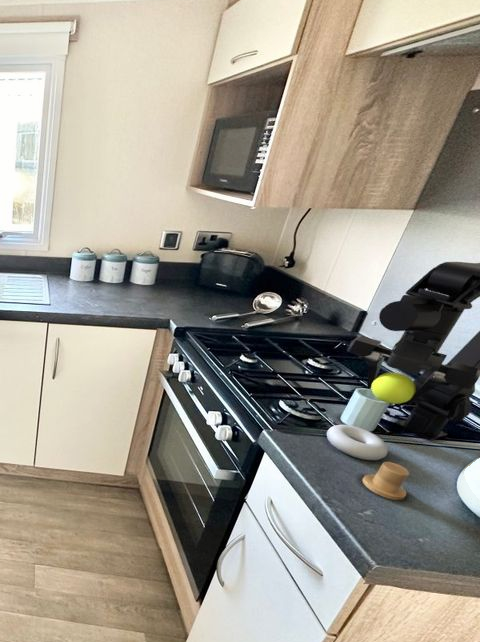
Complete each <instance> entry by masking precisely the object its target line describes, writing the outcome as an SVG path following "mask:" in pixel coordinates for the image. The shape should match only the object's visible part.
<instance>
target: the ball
mask: <svg viewBox="0 0 480 642" xmlns="http://www.w3.org/2000/svg"><path fill="white" fill-rule="evenodd" d="M413 381H414V380H413V379H412V378H410V376H408V375H405V374H403V373H400V372H385V373H382V374H380V375H379V374H378V375H377V377H376V378H375V379H374V381H373V383H372V385H371V388H370V390H372V392H373V394H374V395H375V396H376V397H377V398H378V399H379V400H381V401H383V402H386V403H390V405H391V404H393V405H398V404H403V403H408V402H409V401H410V399H411V398H412V397H413V395H414V394H415V393H416V385H415V383H414V382H413Z"/></svg>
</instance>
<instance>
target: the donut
mask: <svg viewBox="0 0 480 642" xmlns="http://www.w3.org/2000/svg"><path fill="white" fill-rule="evenodd" d="M326 437H327V440H328V442H329V443H330V444H331V445H332V446H333V447H334V448H336V449H337V450H338V451H340V452H342V453H344V454H346V455H348V456H350V457H353V458H356V459H360V460H365V461H379V460H382V459H384V458H385V457H386V456H387V455H388V452H389V447H388V446H387V443H386V442H385V441H384V440H383V439H382V438H381V437H379V436H377V434H374V433H373V432H372V431H370V432H369V431H367V430H364V429H361V428H358V427H355V426H350V425H346V424H335V425H333V426H330V427H329V428H328V430H327V431H326Z"/></svg>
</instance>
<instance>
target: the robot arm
mask: <svg viewBox="0 0 480 642" xmlns="http://www.w3.org/2000/svg"><path fill="white" fill-rule="evenodd" d="M478 298H480V262H467V261H466V262H465V261H444V262H442V263H439V264H438V265H436V266H434V267H432V268H431V269H430V270H429V271H428V272H427V273H425V275H423V276H422V277H421V278H420V279H419V280H418V281H417V282H416V283H414V284H413V285H412V286H411V287H410V288H408V290H407V291H405V294H403V295H402V296H401V298H400V300H396V301H392V302H390V303H388V304H386V305H385V306H384V307H383V308H381V310H380V311H379V314H378V315H379V316H378V318H379V322H380V325H381V326H383V327H384V328H385V329H386V330H388V331H392V332H403V333H402V335H401V337H400V338H399V340H398V341H397V342H396V343H395V344H394V346H393V347H392V349H391V348H388V347H384V346H382V345H381V344H382V340H378V339H374V338H370V337H367V336H363V335H360V336H358V337H355V338H354V339H353V340H351V342H350V343H349V345H348V346H347V349H346V352H347V353H349V354H353V355H356V356H360V360H361V361H364V362H365V364H366V366H367V383H366V384H367V385H366V389H370V390H371V385H372V383H373V381H374V379H375V378H376V377H378V375H379V372H380V369H381V367H382V365H383V363H384V360H385V358H386V359H387V361H386V366H388V367H389V368H392V369H397V370H402V371H404V372H407V373H408V374H411V375H418V374H420V373H421V371H422V370H423V372H422V373H421V374H420V375H419V376H418V377H417V378H415V379H414V380H413V382H414V383H415V385H416V393H415V394H414V395H413V397H412V398H411V399H410V400H409V401H407V404H409V405H411V404H413V403H415V405H414V407H413V409H412V410H411V412H410V413H409V415H408V417H407V418H406V419H404V420H400V421H396V423H395V424H396V425H397V426H399V427H401V428H403V429H405V430H407V431H409V432H411V433H413V434H415V435H417V436H419V437H422V438H423V439H425V440H428V441H433V440H436V439H440V438H444V437H446V436H447V435H448V433H446V432H445V431H443V429H444V427H445V426H446V425H447V424H448V422H449V420H450V421H452V420H456V421H458V422H459V421H460V422H462V421H463V420H464V419H466V417H468V416H469V415H470V414H471V412H472V411H473V407H472V402H471V397H472V396H473V394H474V393H475V392H476V383H477V381H478V380H479V378H480V330H478V332H477V333H476V334H475V335H473V337H472V338H471V339H470V340H469V341H468V342H466V344H465V345H464V346H462V348H461V349H460V350H459V351H458V352H457V353H456V354H455V355H454V356H453V357H452V358H451V359H450V360H449V361H448V362H447V363H446V364H443V363H444V361H445V359H446V358H447V356H448V355H447V354H444V353H442V352H439V351H440V349H441V348H442V347H443V344H444V343H445V341H446V340H447V339H448V337H449V335H450V333H451V332H452V330H453V328H454V327H455V326H456V324H457V322H458V321H459V319H460V317H461V316H462V314H463V313H464V311H465V310H471V309H472V308H473V304H472V303H473V302H474V301H476V300H477V299H478Z"/></svg>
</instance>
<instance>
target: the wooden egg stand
mask: <svg viewBox="0 0 480 642" xmlns="http://www.w3.org/2000/svg"><path fill="white" fill-rule="evenodd" d="M409 475H410V472H409V470H407V469H406V468H405V467H404V466H402V465H400V464H397V463H394V462H391V461H383V463H381V466H380V467H379V469H378V470H377V472H376V473H375V474H374V473H367V474H364V475H363V477H362V483H363V485H364V486H365V487H366V488H367V489H368V490H370V491H371V492H373V493H374V494H376V495H377V496H381V497H383V498H385V499H389V500H391V501H392V500H393V501H402V500H404V499H405V497H406V496H407V491H406V489H404V488H403V487H402V486H403V484H404V482H405V481H406V479H407V478H408V477H409Z"/></svg>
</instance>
